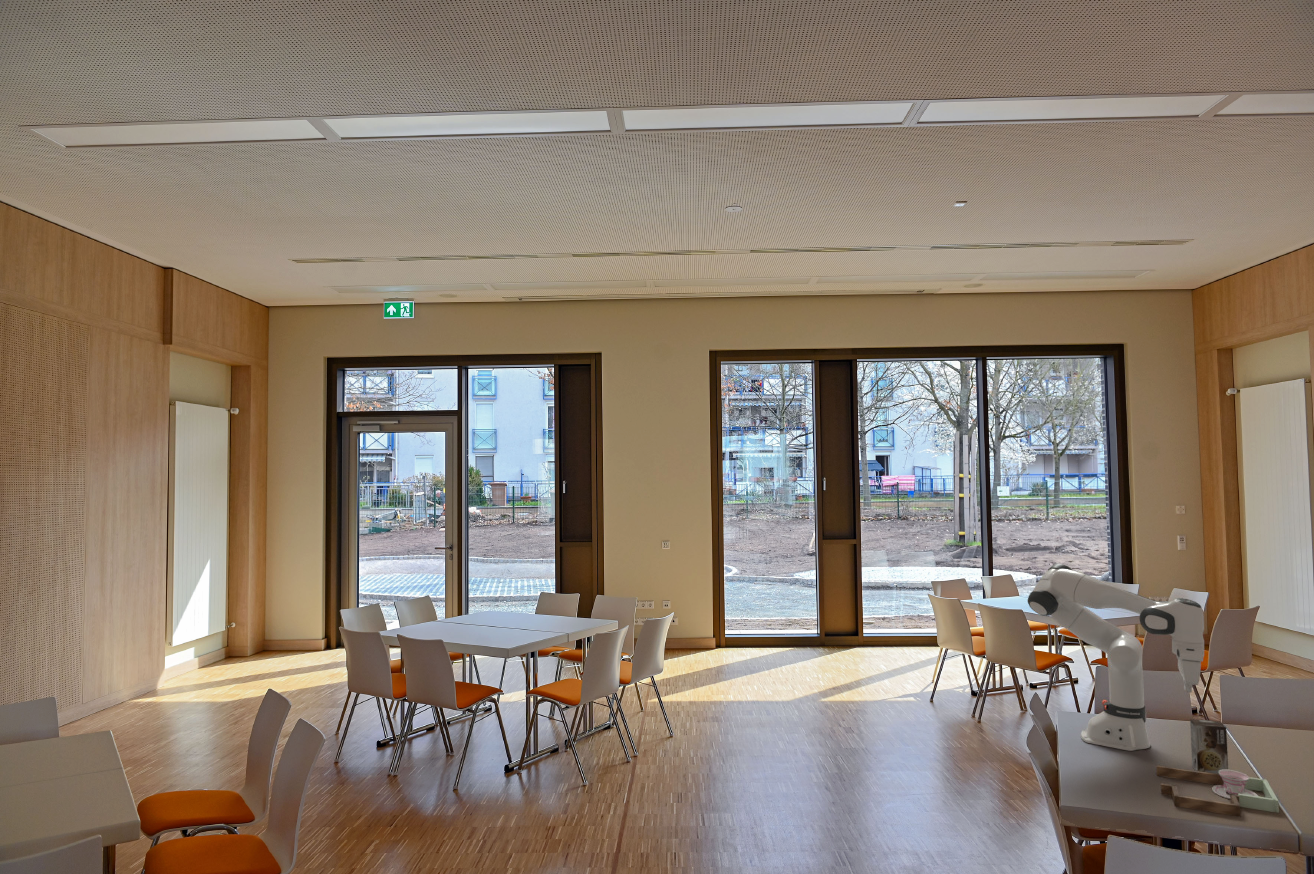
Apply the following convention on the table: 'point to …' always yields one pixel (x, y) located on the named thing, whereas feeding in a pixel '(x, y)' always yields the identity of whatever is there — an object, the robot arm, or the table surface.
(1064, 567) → the robot arm
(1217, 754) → the coffee box
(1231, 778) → the teacup
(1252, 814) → the table surface
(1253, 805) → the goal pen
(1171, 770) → the channel
